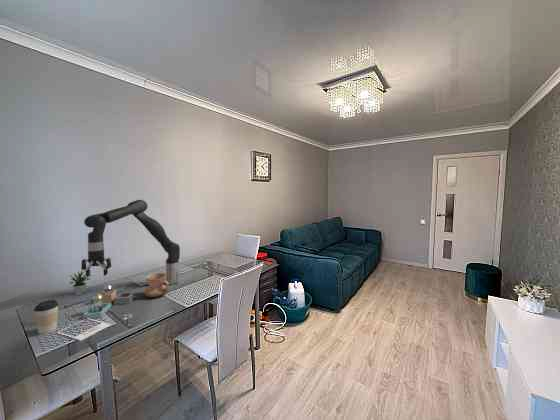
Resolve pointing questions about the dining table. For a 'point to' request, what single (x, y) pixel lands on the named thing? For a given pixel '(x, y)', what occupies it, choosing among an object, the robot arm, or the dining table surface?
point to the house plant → (79, 282)
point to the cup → (108, 297)
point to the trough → (91, 313)
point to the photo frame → (88, 332)
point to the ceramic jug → (156, 285)
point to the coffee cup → (46, 316)
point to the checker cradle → (124, 298)
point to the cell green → (97, 303)
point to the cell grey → (107, 289)
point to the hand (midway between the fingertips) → (96, 275)
